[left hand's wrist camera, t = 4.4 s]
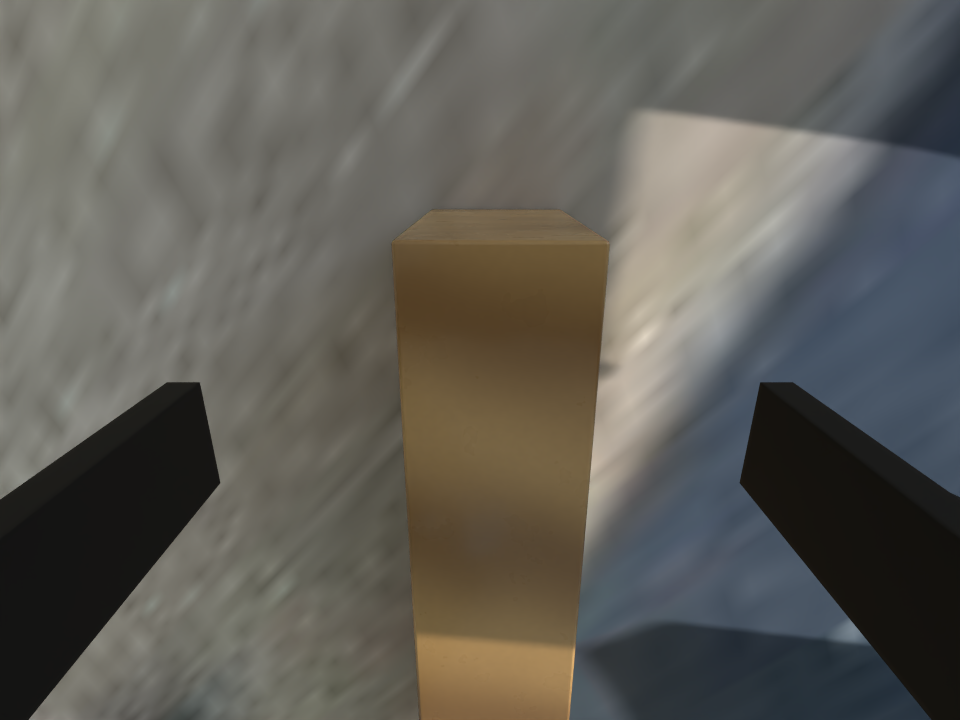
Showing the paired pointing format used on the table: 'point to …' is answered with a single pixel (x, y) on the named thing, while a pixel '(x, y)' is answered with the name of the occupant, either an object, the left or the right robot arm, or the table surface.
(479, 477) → the beam
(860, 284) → the table surface
